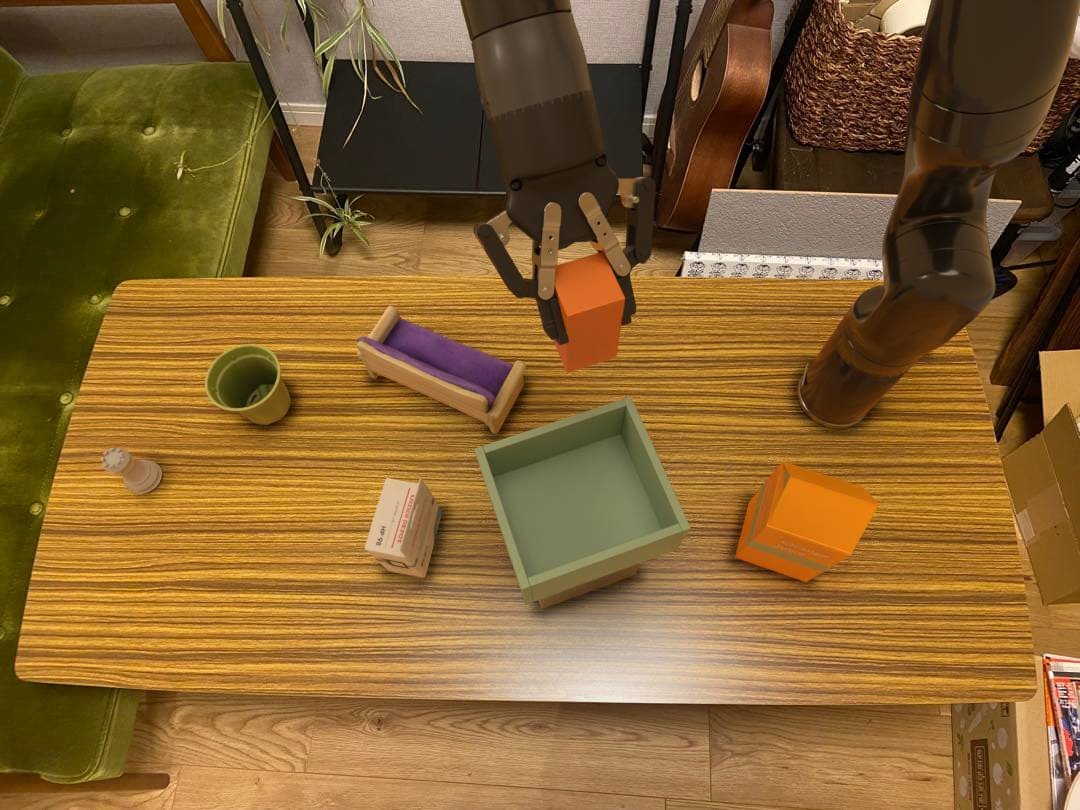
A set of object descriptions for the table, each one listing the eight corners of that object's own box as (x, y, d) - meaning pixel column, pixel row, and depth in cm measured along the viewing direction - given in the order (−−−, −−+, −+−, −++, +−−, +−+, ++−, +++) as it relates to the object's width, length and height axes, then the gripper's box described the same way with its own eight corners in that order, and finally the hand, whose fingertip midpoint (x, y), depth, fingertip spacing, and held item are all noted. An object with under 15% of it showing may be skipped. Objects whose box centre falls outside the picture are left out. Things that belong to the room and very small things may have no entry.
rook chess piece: (122, 479, 92) (85, 458, 85) (151, 456, 93) (116, 432, 86) (141, 502, 91) (105, 482, 83) (170, 477, 92) (137, 455, 85)
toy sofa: (529, 385, 96) (526, 348, 87) (500, 438, 93) (494, 406, 84) (398, 329, 101) (382, 288, 91) (366, 377, 97) (346, 340, 88)
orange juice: (806, 583, 84) (874, 542, 66) (733, 558, 86) (780, 511, 68) (819, 523, 87) (887, 468, 69) (748, 500, 89) (797, 440, 71)
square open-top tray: (624, 428, 74) (630, 395, 67) (677, 549, 68) (691, 528, 61) (482, 476, 72) (473, 448, 65) (525, 604, 66) (521, 589, 59)
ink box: (406, 505, 89) (379, 465, 76) (443, 512, 89) (423, 474, 76) (386, 571, 86) (355, 542, 73) (425, 579, 86) (400, 551, 72)
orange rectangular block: (597, 314, 61) (603, 250, 53) (617, 357, 59) (625, 298, 51) (548, 330, 61) (546, 267, 52) (566, 373, 59) (567, 316, 51)
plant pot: (283, 445, 93) (257, 419, 85) (221, 425, 95) (190, 398, 87) (314, 385, 97) (293, 355, 89) (254, 367, 98) (228, 335, 91)
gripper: (443, 123, 44) (514, 373, 50) (654, 66, 46) (698, 314, 52) (434, 130, 51) (498, 348, 57) (618, 80, 53) (660, 297, 59)
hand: (593, 331), depth 55 cm, fingers closed on orange rectangular block, 4 cm apart
